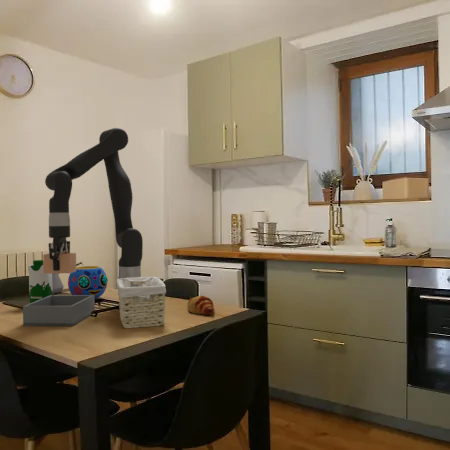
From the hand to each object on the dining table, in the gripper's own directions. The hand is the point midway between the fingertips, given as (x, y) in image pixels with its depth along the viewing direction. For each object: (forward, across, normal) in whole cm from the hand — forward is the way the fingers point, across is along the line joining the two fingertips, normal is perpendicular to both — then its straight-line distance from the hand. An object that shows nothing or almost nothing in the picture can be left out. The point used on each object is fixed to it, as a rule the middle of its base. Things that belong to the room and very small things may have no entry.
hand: (60, 269), depth 170 cm
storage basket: (+19, -2, -31) cm, 36 cm away
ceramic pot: (+19, +39, +4) cm, 44 cm away
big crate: (+19, 0, 0) cm, 19 cm away
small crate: (+1, 0, 0) cm, 1 cm away
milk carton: (+19, +24, +19) cm, 36 cm away
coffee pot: (+19, +59, +25) cm, 67 cm away
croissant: (+19, +14, -52) cm, 57 cm away
